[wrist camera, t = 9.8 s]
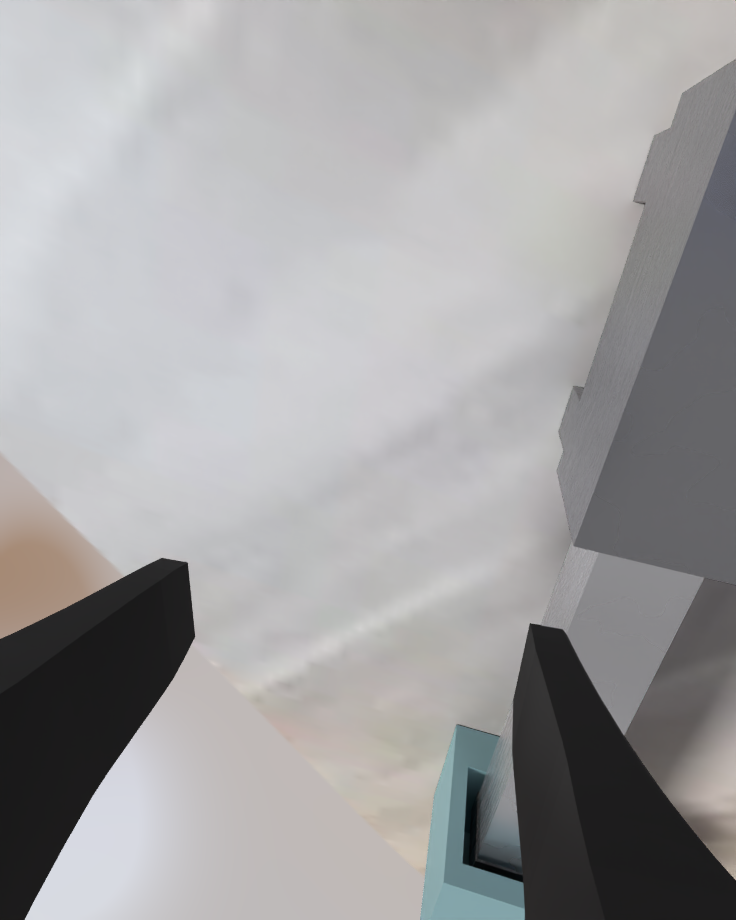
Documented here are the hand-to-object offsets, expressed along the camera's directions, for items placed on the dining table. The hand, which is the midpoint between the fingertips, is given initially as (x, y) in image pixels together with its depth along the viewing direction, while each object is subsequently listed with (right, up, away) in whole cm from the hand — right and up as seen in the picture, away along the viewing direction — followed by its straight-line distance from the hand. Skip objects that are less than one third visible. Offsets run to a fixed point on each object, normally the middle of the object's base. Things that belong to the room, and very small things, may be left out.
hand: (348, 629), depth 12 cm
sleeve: (+9, +8, +5) cm, 13 cm away
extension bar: (+7, -4, +8) cm, 11 cm away
